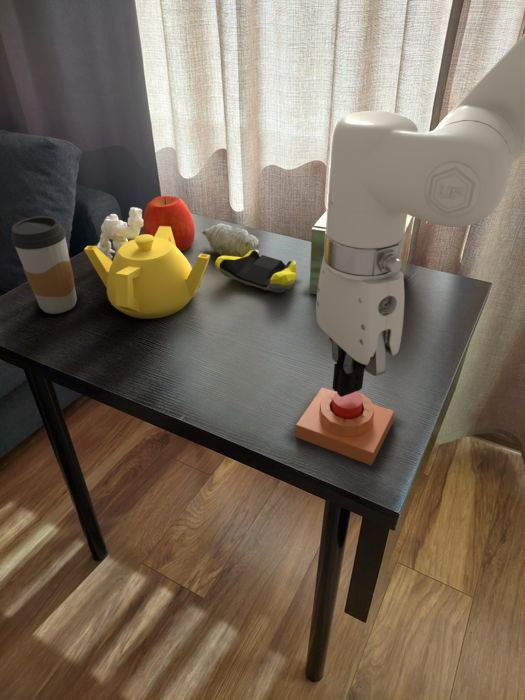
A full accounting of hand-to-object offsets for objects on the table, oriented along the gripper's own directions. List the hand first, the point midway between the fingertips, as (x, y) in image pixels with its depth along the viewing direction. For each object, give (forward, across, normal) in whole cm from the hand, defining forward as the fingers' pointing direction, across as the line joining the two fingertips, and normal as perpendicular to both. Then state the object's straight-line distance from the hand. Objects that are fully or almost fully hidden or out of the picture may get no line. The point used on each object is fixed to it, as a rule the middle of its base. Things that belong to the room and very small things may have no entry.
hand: (347, 389), depth 63 cm
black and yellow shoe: (+7, +38, -8) cm, 40 cm away
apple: (+7, +62, +1) cm, 63 cm away
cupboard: (+7, +30, -23) cm, 38 cm away
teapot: (+7, +43, +11) cm, 45 cm away
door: (+7, +24, -17) cm, 30 cm away
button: (+3, 0, 0) cm, 3 cm away
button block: (+7, 0, 0) cm, 7 cm away
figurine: (+7, +58, +12) cm, 60 cm away
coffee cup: (+7, +49, +27) cm, 57 cm away
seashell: (+7, +52, -8) cm, 53 cm away
